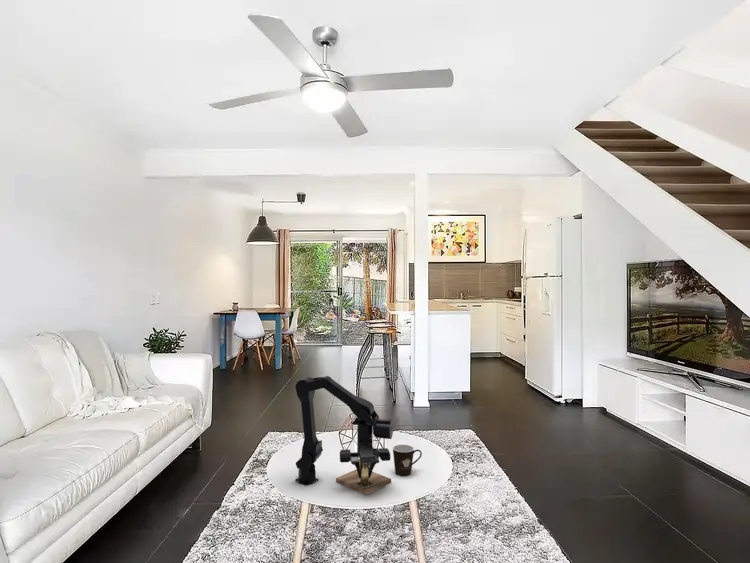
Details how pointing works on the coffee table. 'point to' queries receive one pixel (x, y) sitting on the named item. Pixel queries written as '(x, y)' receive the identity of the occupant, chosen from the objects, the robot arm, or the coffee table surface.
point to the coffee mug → (404, 459)
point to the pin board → (354, 481)
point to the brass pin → (364, 474)
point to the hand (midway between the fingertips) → (364, 477)
